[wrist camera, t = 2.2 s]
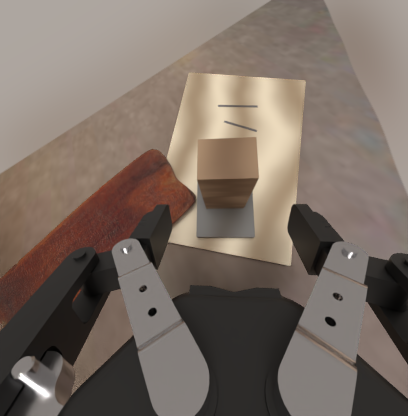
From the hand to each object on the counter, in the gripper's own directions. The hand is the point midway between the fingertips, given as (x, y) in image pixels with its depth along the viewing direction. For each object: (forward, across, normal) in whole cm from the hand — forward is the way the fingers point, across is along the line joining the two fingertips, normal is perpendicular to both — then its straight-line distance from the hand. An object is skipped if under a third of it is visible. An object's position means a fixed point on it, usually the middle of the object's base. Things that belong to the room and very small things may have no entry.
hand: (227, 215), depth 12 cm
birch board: (+14, -1, 0) cm, 14 cm away
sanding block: (+9, 0, +3) cm, 9 cm away
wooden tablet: (+6, +16, +8) cm, 18 cm away
